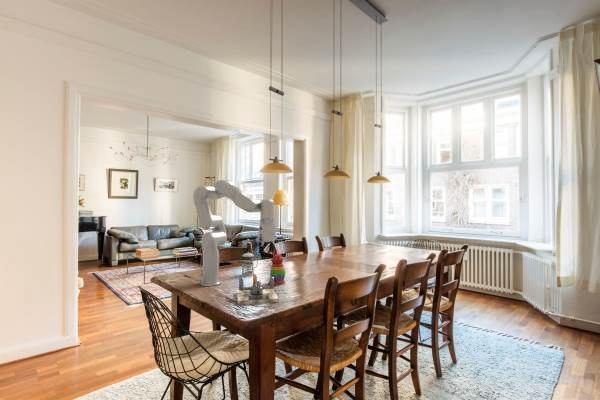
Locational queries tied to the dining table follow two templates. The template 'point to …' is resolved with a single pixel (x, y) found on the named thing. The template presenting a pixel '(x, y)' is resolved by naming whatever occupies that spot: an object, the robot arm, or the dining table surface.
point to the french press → (248, 273)
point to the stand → (256, 297)
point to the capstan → (256, 286)
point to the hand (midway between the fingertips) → (266, 252)
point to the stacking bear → (277, 270)
